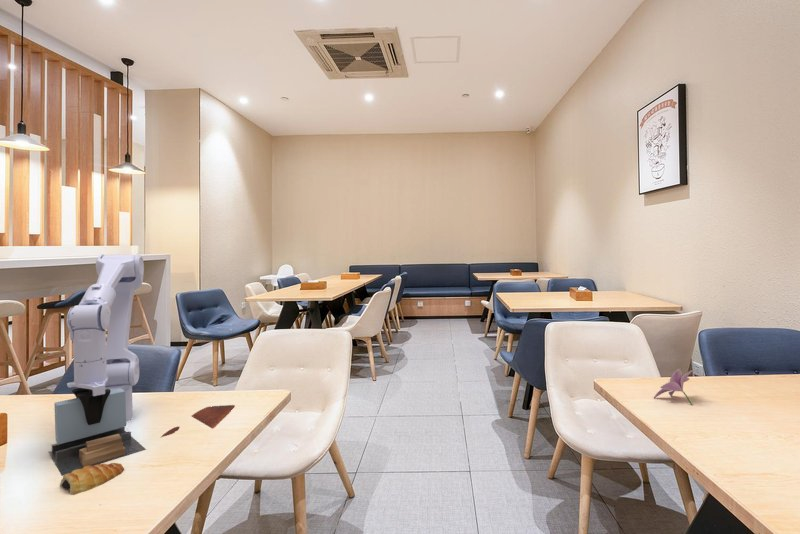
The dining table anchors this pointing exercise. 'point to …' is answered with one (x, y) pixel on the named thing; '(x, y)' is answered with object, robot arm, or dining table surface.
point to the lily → (675, 383)
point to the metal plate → (69, 451)
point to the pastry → (90, 477)
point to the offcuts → (101, 450)
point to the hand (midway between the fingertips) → (92, 421)
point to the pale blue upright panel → (74, 420)
